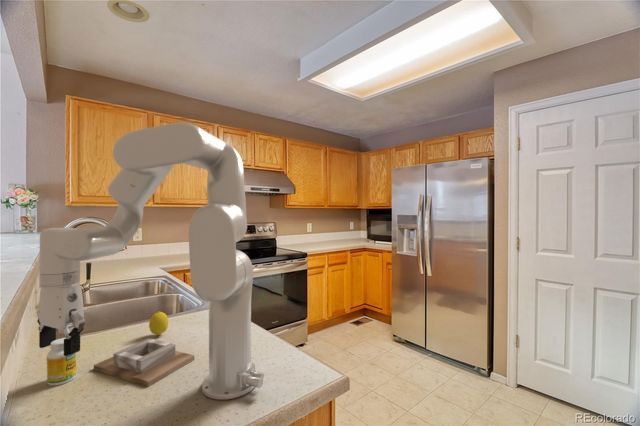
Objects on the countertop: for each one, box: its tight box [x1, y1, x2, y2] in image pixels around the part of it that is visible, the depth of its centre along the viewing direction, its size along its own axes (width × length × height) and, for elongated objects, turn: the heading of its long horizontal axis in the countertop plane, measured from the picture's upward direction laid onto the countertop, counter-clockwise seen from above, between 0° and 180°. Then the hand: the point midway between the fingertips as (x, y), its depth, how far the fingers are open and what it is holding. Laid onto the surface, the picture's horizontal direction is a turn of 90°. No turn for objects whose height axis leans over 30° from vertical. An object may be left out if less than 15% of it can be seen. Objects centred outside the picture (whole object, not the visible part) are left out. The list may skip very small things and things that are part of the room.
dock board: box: [93, 338, 195, 387], centre depth 82 cm, size 20×14×4 cm
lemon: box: [148, 311, 169, 337], centre depth 101 cm, size 6×6×8 cm
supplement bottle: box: [46, 337, 77, 387], centre depth 74 cm, size 5×5×10 cm
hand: (59, 349), depth 74 cm, fingers open, 9 cm apart
